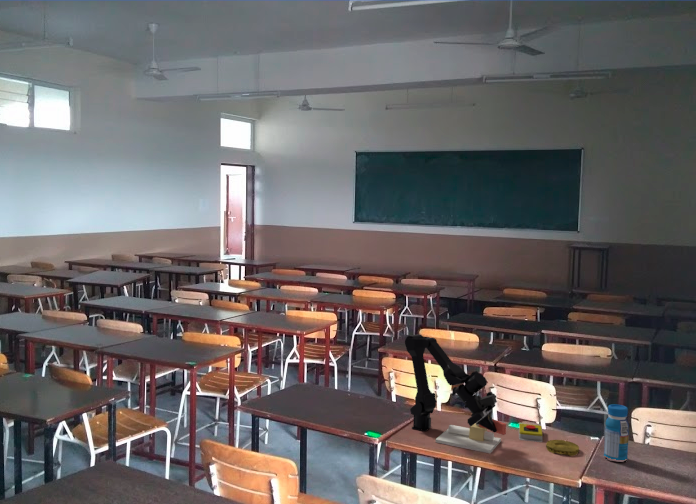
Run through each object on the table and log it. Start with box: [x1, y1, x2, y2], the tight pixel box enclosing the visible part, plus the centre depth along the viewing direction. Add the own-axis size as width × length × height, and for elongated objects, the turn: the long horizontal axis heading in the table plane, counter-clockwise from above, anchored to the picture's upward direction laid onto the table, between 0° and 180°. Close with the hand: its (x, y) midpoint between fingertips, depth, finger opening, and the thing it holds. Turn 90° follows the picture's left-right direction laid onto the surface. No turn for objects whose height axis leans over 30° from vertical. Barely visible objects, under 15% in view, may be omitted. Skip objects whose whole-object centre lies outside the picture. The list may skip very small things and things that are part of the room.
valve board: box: [435, 423, 502, 454], centre depth 249 cm, size 22×15×6 cm
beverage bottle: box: [603, 403, 630, 460], centre depth 234 cm, size 8×8×20 cm
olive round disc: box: [545, 439, 580, 457], centre depth 243 cm, size 12×12×2 cm
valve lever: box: [476, 418, 507, 436], centre depth 245 cm, size 14×2×4 cm, turn 36°
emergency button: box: [518, 423, 544, 443], centre depth 259 cm, size 9×4×15 cm
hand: (495, 431), depth 240 cm, fingers closed
